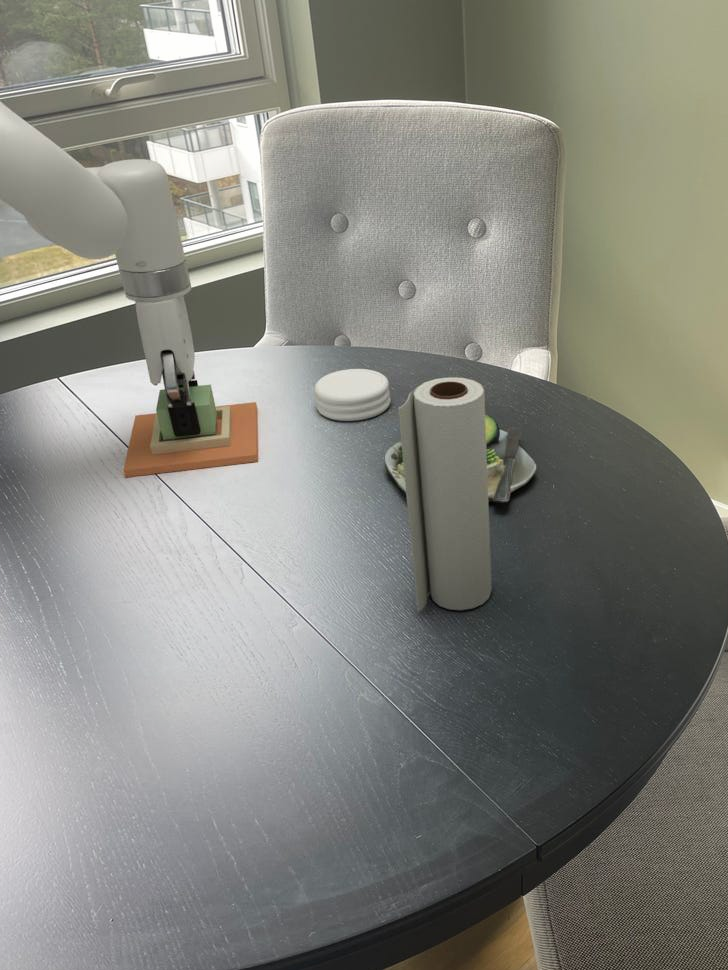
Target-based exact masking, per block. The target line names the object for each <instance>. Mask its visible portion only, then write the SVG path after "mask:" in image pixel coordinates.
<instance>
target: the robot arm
mask: <svg viewBox="0 0 728 970" xmlns="http://www.w3.org/2000/svg"><path fill="white" fill-rule="evenodd" d="M0 201H2V202H3V203H5V204H7V205H8V206H9V207H10V208H11V209H13V210H15V211H16V212H18V213H19V214H21V215H22V216H23V217H24V219H25V221H26V223H27V224H28V225H29V226H30V227H31V229H32V230H33V231H35V232H36V233H37V234H38V235H39V236H40V237H42V238H44V239H45V240H47V241H49V242H51V243H53V244H55V246H56V245H57V246H58V247H61V248H63V249H65V250H67V251H68V252H70V253H72V254H73V255H75V256H77V257H80V258H83V259H85V260H86V259H87V260H91V261H93V260H103V259H107V258H109V257H111V256H113V255H114V256H115V258H116V263H117V267H118V272H119V275H120V280H121V282H122V287H123V291H124V295H125V297H126V299H128V300H130V301H132V302H134V303H135V311H136V318H137V323H138V329H139V335H140V340H141V343H142V349H143V353H144V358H145V363H146V366H147V373H148V377H149V380H150V383H151V385H153V386H158V384H161V381H163V387H164V389H165V393H166V398H167V404H168V406H167V407H168V411H169V415H170V420H171V424H172V428H173V432H174V435H175V436H176V437H181V436H190V435H198V434H200V432H201V429H200V425H199V420H198V416H197V412H196V407H195V403H194V402H193V403H192V401H191V395H190V389H189V387H193V386H199V383H198V380H197V379H196V375H195V357H196V356H195V355H196V354H195V346H194V339H193V334H192V328H191V324H190V320H189V314H188V310H187V306H186V301H185V295H187V294H188V293H190V292H191V291H192V284H191V283H192V282H191V279H190V274H189V270H188V265H187V260H186V256H185V250H184V247H183V242H182V237H181V233H180V232H181V231H180V226H179V222H178V217H177V213H176V208H175V205H174V204H175V203H174V199H173V194H172V189H171V185H170V181H169V176H168V174H167V171H166V169H165V168H164V166H163V165H162V164H161V163H159V162H157V161H155V160H152V159H147V158H146V159H145V158H144V159H143V158H135V159H134V158H132V159H122V160H116V161H112V162H110V163H107V164H105V165H103V166H97V167H95V166H94V167H85V166H83V164H82V163H80V162H79V161H77V160H76V159H75V158H74V157H72V156H71V155H70V154H69V153H67V152H66V151H65V150H64V149H63V148H62V147H60V146H59V145H58V144H56V143H55V142H54V141H52V140H51V139H50V138H49V137H47V136H46V135H45V134H43V133H42V132H41V131H39V130H38V129H37V128H36V127H34V126H33V125H31V124H30V123H29V122H27V121H26V120H24V119H23V118H22V117H21V116H19V114H17V113H15V112H14V111H13V110H11V108H10V107H8V106H7V105H5V104H4V103H3V102H2V101H1V100H0ZM183 387H184V392H183V390H182V389H181V390H179V388H183Z"/></svg>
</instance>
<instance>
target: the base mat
mask: <svg viewBox="0 0 728 970" xmlns="http://www.w3.org/2000/svg"><path fill="white" fill-rule="evenodd" d="M215 407H216V411H217V419H216V434H213V435H204V436H195V437H186V438H177V439H168V440H163V436H162V432H161V428H160V424H159V420H158V416H157V412H154V413H146V414H145V413H144V414H137V415H136V414H135V416H134V421H133V426H132V430H131V434H130V438H129V443H128V446H127V447H128V448H127V453H126V456H125V461H124V466H123V470H122V471H123V474H124V477H125V478H131V477H132V478H133V477H140V476H148V475H149V476H150V475H157V474H166V473H174V472H182V471H191V470H199V469H207V468H215V467H223V466H233V465H240V464H249V463H257V462H259V436H258V435H259V429H258V425H259V424H258V404H257V402H256V401H252V402H244V403H234V404H227V405H226V404H225V405H215ZM198 468H199V469H198ZM173 471H174V472H173Z"/></svg>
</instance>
